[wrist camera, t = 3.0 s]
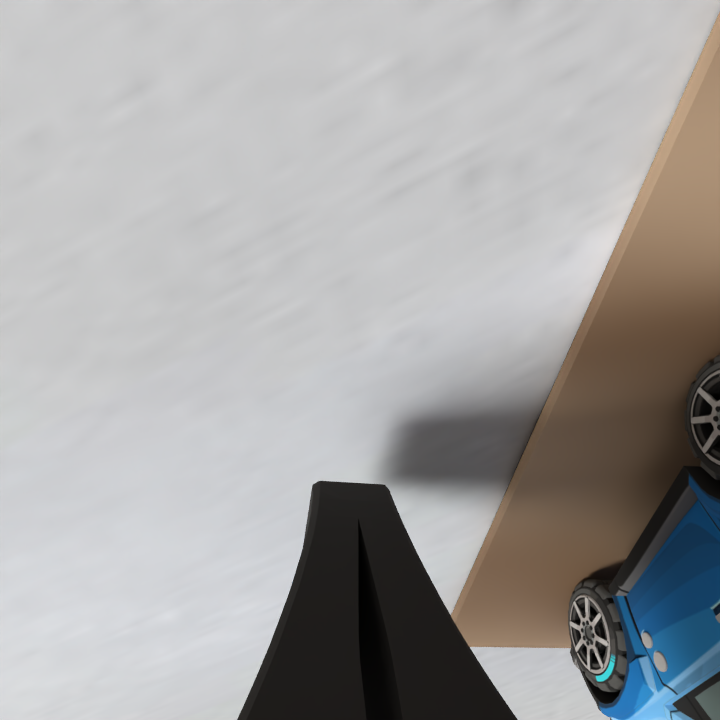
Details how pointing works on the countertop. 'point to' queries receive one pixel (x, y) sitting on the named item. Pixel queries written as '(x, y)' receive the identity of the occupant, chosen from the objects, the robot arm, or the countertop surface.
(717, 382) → the toy car
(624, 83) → the countertop surface
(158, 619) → the countertop surface
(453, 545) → the countertop surface
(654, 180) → the board
